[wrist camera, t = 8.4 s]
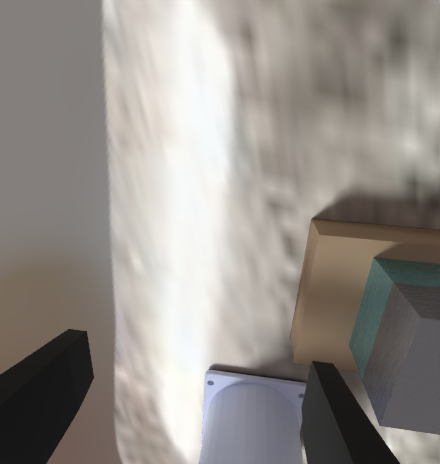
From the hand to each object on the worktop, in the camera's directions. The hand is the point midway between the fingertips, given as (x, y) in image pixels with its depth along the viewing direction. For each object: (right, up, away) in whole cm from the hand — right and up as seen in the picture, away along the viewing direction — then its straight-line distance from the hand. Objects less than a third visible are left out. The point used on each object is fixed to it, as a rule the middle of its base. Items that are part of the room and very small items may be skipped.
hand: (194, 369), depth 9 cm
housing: (+11, 0, +7) cm, 13 cm away
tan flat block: (+11, +1, +10) cm, 15 cm away
